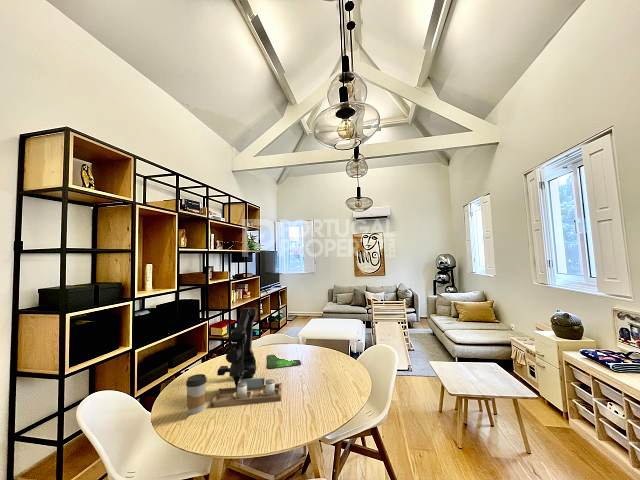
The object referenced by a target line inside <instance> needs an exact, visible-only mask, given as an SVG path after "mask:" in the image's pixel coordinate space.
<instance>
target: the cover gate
mask: <svg viewBox="0 0 640 480" xmlns="http://www.w3.org/2000/svg"><path fill="white" fill-rule="evenodd" d="M263 378H264V377H253V378H249V379H241V378H240V379H239V383H240V382H247V389H251V388H262V385H263Z"/></svg>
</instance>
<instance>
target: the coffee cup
mask: <svg viewBox="0 0 640 480" xmlns="http://www.w3.org/2000/svg"><path fill="white" fill-rule="evenodd" d="M185 386H186V404H187V414H188V416H191V415H197V414H200V413H202V412H203V411H204V410H205V403H206V389H207V377H206V374H203V373H198V374H193V375H190V376H189V377H187V380H186V384H185Z"/></svg>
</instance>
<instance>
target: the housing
mask: <svg viewBox="0 0 640 480" xmlns="http://www.w3.org/2000/svg"><path fill="white" fill-rule="evenodd" d="M282 385H283V383H282V382H279V383H275V395H274V396H266V397H265V377H263V385H262V388H251V389H247V398H245V399H237V387H236V386H235V387H225V388H222V387H219V388H218V390H217V392H216V393H215V395H214V397H213V398H212V401H211V402H210V408H221V407H230V406H241V405H251V404H261V403H271V402H280V401H282V388H283V386H282Z"/></svg>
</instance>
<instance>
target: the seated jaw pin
mask: <svg viewBox="0 0 640 480" xmlns="http://www.w3.org/2000/svg"><path fill="white" fill-rule="evenodd" d="M245 398H247V382H240V381H239V382H238V384H237V399H245Z"/></svg>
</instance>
